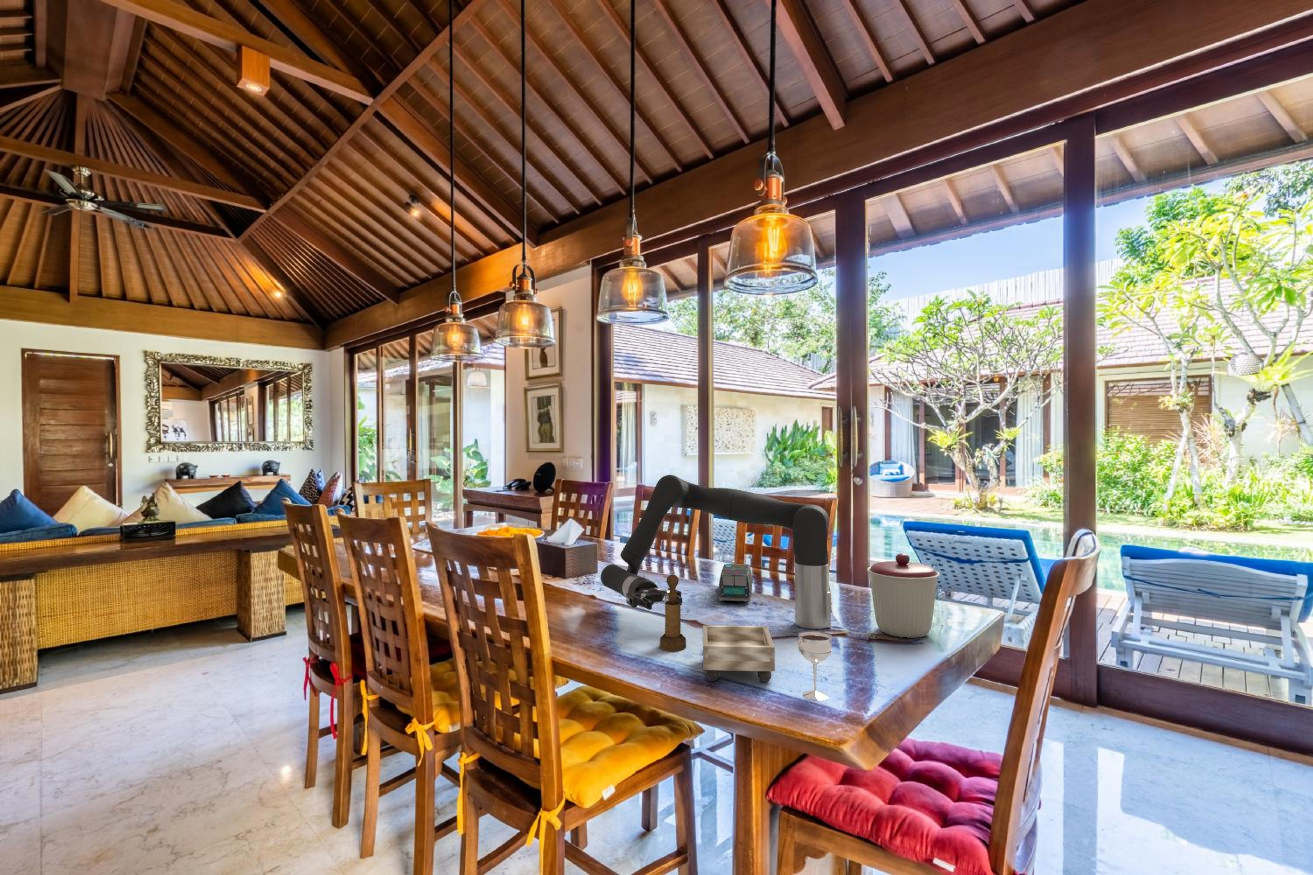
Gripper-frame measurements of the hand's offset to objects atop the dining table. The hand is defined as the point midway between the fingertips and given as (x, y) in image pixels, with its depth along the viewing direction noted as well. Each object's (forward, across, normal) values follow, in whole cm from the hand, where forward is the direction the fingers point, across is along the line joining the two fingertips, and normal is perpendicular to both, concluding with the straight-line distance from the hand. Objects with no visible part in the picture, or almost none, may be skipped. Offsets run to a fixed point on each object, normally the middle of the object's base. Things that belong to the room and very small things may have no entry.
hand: (665, 603), depth 158 cm
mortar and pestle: (+4, 0, +10) cm, 11 cm away
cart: (+25, +5, +10) cm, 28 cm away
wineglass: (+43, +12, +10) cm, 46 cm away
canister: (+21, +60, +10) cm, 65 cm away
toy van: (-33, +43, +10) cm, 55 cm away
